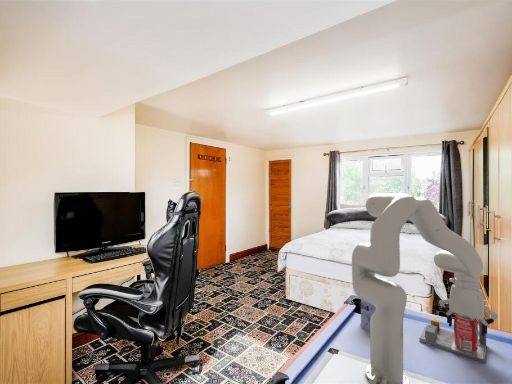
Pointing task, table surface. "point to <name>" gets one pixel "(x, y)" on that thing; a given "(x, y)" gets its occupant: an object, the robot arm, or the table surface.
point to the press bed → (447, 343)
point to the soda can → (465, 333)
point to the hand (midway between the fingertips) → (466, 330)
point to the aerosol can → (366, 314)
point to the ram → (432, 330)
